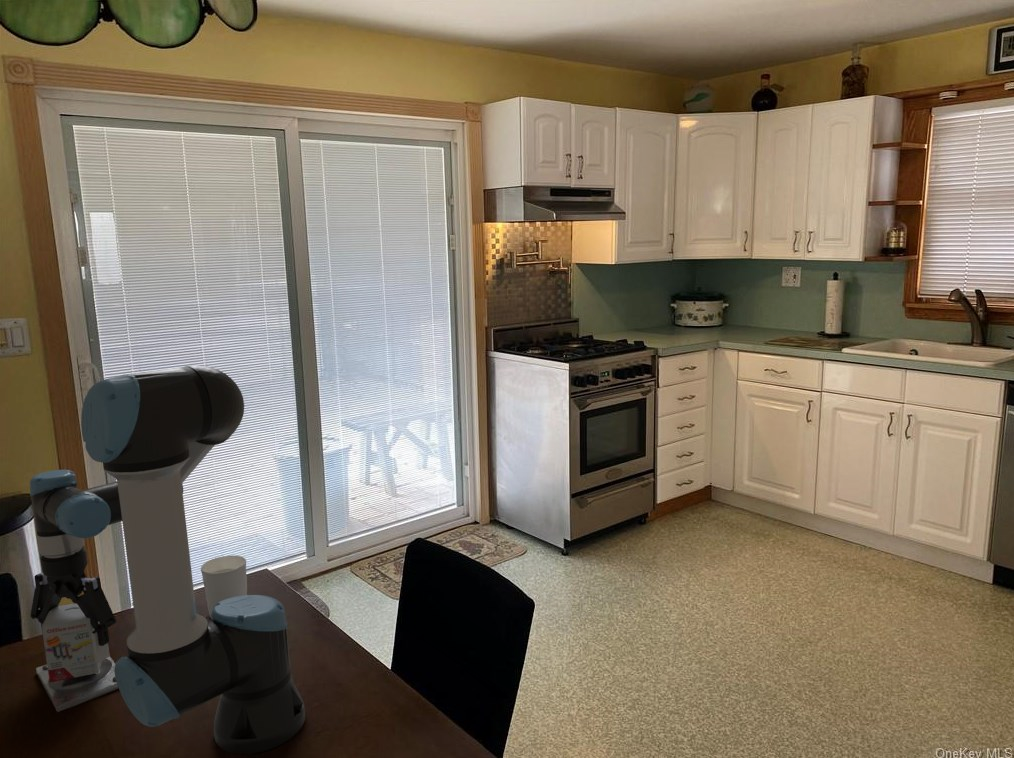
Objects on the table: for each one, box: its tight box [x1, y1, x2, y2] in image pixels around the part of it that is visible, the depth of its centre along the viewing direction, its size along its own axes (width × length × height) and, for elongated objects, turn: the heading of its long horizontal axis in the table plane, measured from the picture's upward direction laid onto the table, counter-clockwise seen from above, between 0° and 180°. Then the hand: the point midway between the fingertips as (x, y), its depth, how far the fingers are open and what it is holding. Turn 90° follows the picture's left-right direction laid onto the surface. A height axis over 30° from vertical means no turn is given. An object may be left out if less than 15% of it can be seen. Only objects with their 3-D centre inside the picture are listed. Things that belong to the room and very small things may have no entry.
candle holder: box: [200, 555, 248, 620], centre depth 170 cm, size 10×10×12 cm
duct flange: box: [35, 655, 119, 713], centre depth 145 cm, size 18×12×2 cm, turn 43°
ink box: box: [41, 603, 102, 683], centre depth 144 cm, size 9×9×12 cm
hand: (78, 655), depth 145 cm, fingers closed on ink box, 11 cm apart
